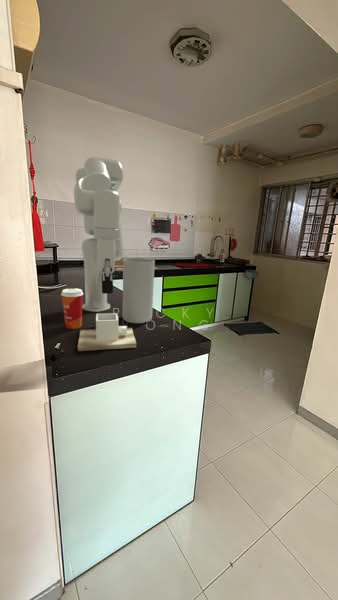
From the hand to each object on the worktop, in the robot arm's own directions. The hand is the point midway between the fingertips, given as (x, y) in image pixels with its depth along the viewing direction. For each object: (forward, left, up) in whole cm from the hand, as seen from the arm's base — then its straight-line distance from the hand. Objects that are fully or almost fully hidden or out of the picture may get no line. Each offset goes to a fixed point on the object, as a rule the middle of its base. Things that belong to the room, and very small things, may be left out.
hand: (107, 289), depth 81 cm
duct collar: (0, +2, -16) cm, 17 cm away
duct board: (0, 0, -18) cm, 18 cm away
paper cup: (-14, -12, -18) cm, 26 cm away
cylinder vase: (-20, +13, -18) cm, 30 cm away
